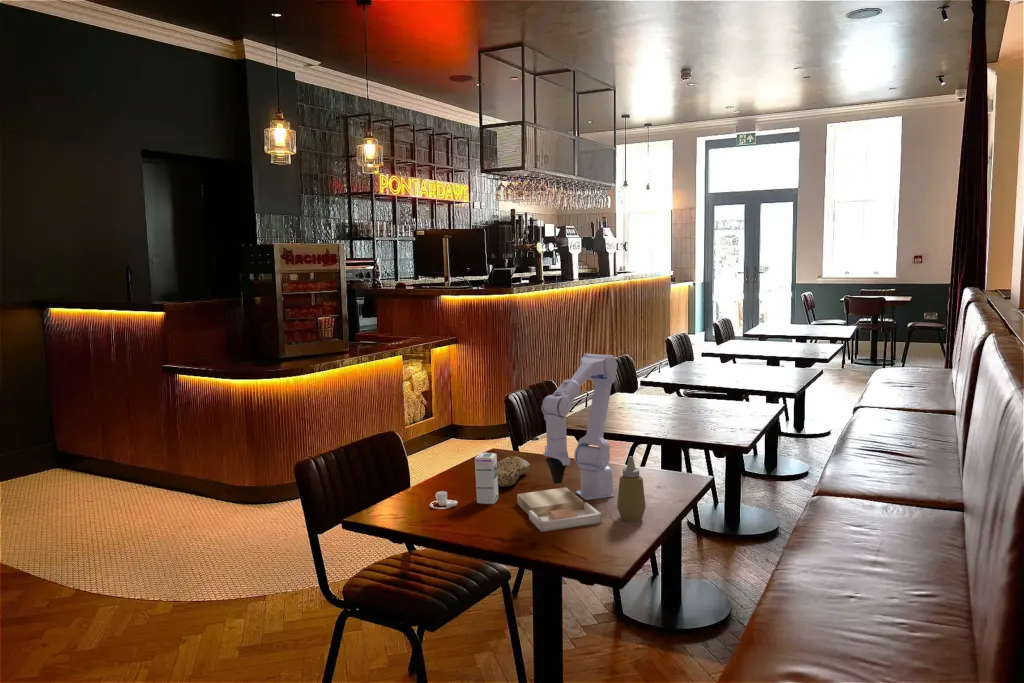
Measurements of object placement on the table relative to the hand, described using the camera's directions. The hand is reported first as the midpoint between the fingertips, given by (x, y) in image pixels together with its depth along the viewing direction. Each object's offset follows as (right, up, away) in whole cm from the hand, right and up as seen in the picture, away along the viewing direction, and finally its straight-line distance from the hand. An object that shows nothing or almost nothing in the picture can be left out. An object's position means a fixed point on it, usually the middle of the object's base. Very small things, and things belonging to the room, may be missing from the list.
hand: (557, 482), depth 208 cm
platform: (-2, -9, +7) cm, 11 cm away
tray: (+2, -10, -5) cm, 11 cm away
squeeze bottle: (+21, -10, -4) cm, 23 cm away
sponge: (-15, -6, +33) cm, 37 cm away
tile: (+1, -9, -4) cm, 10 cm away
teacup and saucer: (-35, -10, +9) cm, 37 cm away
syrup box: (-21, -9, +14) cm, 26 cm away
